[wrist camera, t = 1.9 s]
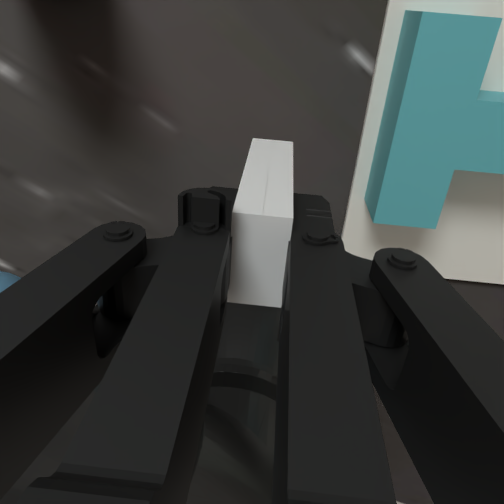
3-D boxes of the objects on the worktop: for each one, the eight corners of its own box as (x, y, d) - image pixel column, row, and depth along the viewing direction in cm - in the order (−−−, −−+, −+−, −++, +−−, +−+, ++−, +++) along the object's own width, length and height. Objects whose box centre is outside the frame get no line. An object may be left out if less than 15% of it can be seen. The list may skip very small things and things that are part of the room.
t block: (532, 214, 31) (562, 241, 28) (364, 198, 32) (373, 223, 28) (613, 27, 25) (664, 31, 22) (405, 9, 26) (422, 11, 22)
